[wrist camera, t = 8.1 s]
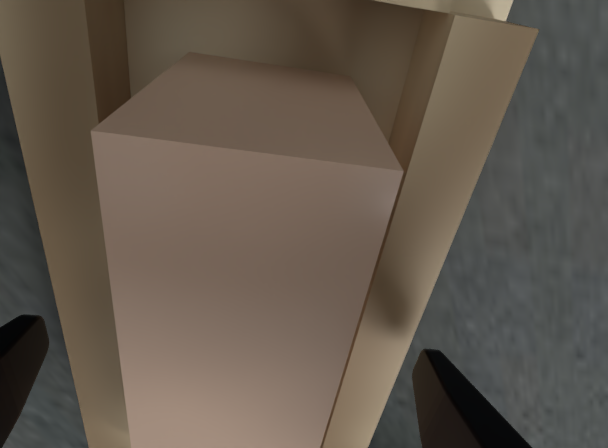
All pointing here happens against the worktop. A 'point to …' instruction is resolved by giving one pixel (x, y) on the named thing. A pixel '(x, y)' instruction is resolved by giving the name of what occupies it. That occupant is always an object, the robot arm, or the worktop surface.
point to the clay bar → (239, 248)
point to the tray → (278, 51)
